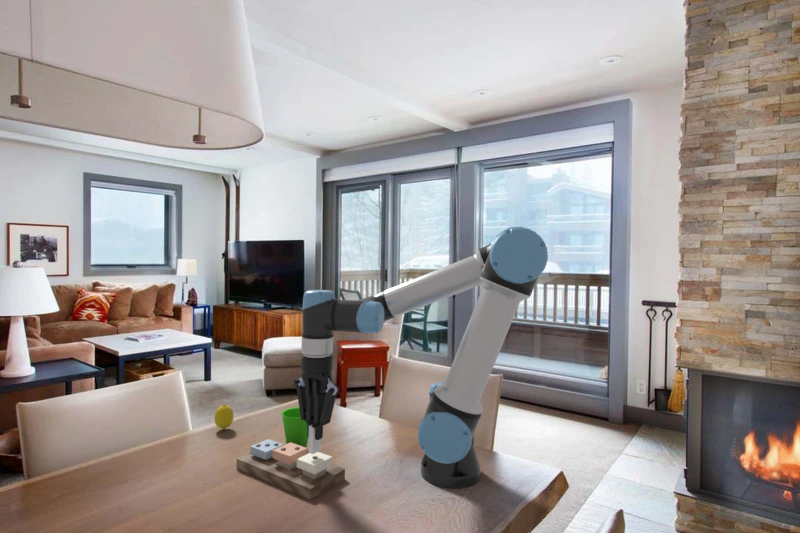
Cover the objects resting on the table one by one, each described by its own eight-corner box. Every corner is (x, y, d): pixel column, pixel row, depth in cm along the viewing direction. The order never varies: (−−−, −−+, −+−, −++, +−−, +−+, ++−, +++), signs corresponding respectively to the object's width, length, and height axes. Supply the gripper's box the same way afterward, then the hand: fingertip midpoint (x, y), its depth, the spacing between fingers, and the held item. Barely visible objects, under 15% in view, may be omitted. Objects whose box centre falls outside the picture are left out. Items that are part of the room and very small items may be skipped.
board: (344, 478, 113) (344, 468, 113) (310, 499, 103) (310, 488, 102) (273, 452, 127) (273, 443, 127) (236, 468, 117) (236, 458, 117)
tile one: (332, 474, 111) (332, 455, 111) (314, 484, 106) (315, 464, 106) (314, 467, 114) (314, 449, 114) (296, 477, 109) (296, 458, 109)
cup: (309, 458, 124) (310, 418, 123) (276, 457, 124) (276, 417, 124) (316, 444, 133) (316, 407, 132) (285, 443, 133) (285, 406, 133)
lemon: (236, 429, 143) (237, 403, 143) (221, 434, 138) (222, 408, 138) (225, 425, 146) (226, 400, 146) (210, 430, 141) (210, 404, 141)
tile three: (283, 460, 120) (283, 443, 120) (265, 469, 115) (265, 451, 115) (268, 455, 123) (268, 438, 123) (250, 463, 118) (250, 445, 118)
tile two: (306, 465, 115) (307, 447, 115) (289, 474, 110) (289, 455, 110) (290, 459, 119) (290, 441, 119) (272, 467, 114) (272, 449, 114)
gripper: (348, 355, 109) (345, 453, 109) (308, 348, 116) (306, 439, 117) (326, 361, 103) (323, 464, 103) (286, 352, 110) (283, 449, 110)
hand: (314, 451), depth 110 cm, fingers closed
